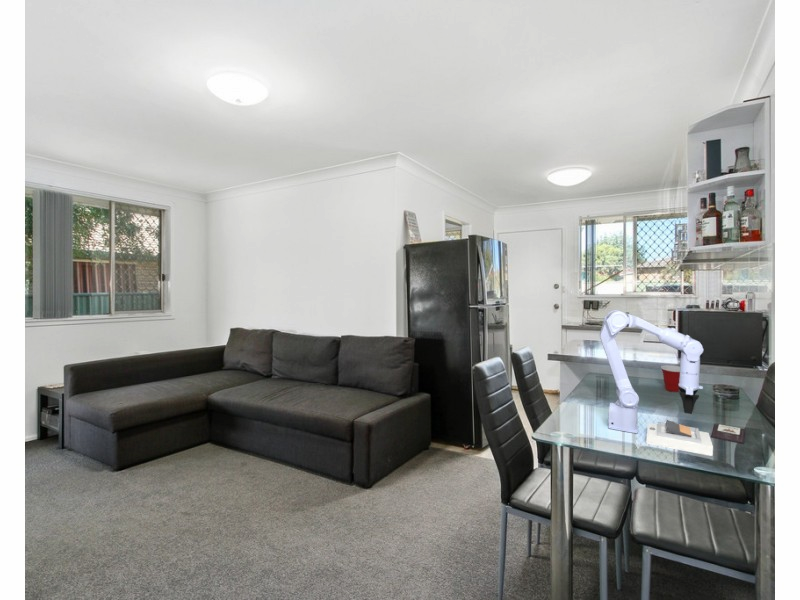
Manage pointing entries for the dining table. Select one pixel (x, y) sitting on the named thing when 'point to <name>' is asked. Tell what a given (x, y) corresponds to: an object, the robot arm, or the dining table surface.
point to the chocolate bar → (728, 433)
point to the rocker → (678, 429)
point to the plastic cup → (671, 377)
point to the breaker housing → (679, 439)
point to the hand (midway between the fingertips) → (687, 410)
